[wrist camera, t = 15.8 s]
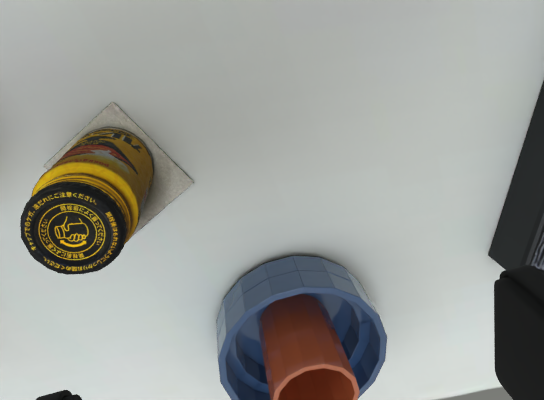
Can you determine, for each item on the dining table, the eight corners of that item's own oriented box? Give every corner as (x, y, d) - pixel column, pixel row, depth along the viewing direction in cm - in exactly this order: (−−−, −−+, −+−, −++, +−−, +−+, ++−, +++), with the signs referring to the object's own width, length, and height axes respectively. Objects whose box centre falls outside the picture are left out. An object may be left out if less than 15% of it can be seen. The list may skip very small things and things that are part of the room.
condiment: (112, 100, 32) (65, 144, 21) (194, 181, 35) (190, 256, 24) (43, 165, 33) (-36, 239, 22) (129, 237, 36) (96, 333, 25)
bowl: (299, 221, 38) (314, 253, 33) (393, 314, 43) (418, 353, 38) (184, 323, 40) (181, 367, 35) (286, 399, 46) (297, 446, 40)
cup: (296, 280, 39) (321, 349, 31) (342, 321, 42) (376, 395, 34) (243, 325, 40) (253, 403, 32) (291, 362, 43) (311, 444, 35)
